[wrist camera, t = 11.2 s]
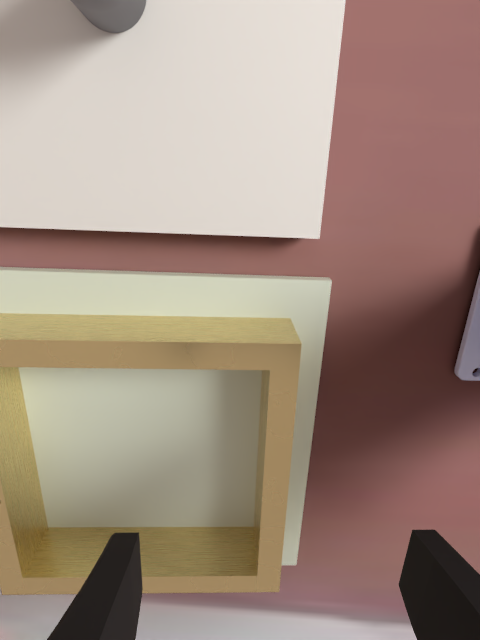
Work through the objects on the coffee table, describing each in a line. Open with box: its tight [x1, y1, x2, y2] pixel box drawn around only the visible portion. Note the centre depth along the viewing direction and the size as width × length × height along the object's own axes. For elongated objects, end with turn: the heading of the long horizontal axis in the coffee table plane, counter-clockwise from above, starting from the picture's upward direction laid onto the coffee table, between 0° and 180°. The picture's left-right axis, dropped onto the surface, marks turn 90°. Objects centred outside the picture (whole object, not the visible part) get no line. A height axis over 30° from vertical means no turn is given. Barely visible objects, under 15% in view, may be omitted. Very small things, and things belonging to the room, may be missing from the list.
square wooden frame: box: [0, 313, 302, 595], centre depth 19 cm, size 14×14×3 cm
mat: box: [0, 267, 332, 565], centre depth 21 cm, size 18×18×1 cm
